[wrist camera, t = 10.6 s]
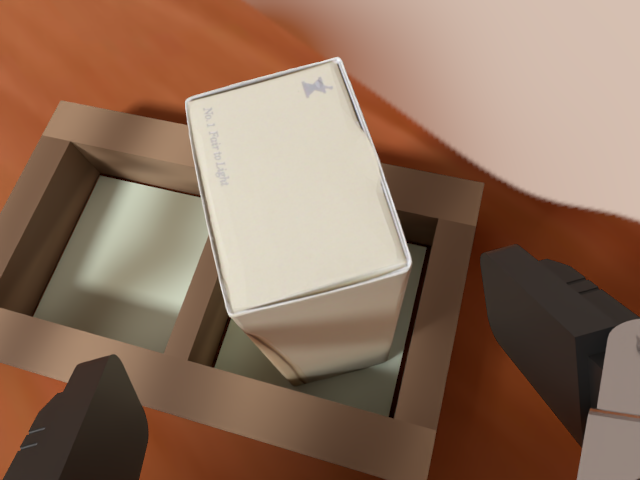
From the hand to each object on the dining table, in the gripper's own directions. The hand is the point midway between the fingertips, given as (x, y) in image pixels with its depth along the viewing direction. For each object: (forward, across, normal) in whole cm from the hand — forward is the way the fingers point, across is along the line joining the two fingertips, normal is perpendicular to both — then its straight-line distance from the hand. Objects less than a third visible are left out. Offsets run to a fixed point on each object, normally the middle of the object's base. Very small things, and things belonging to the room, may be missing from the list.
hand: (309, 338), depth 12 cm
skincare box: (+11, -1, +6) cm, 12 cm away
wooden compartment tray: (+13, +3, +4) cm, 14 cm away
